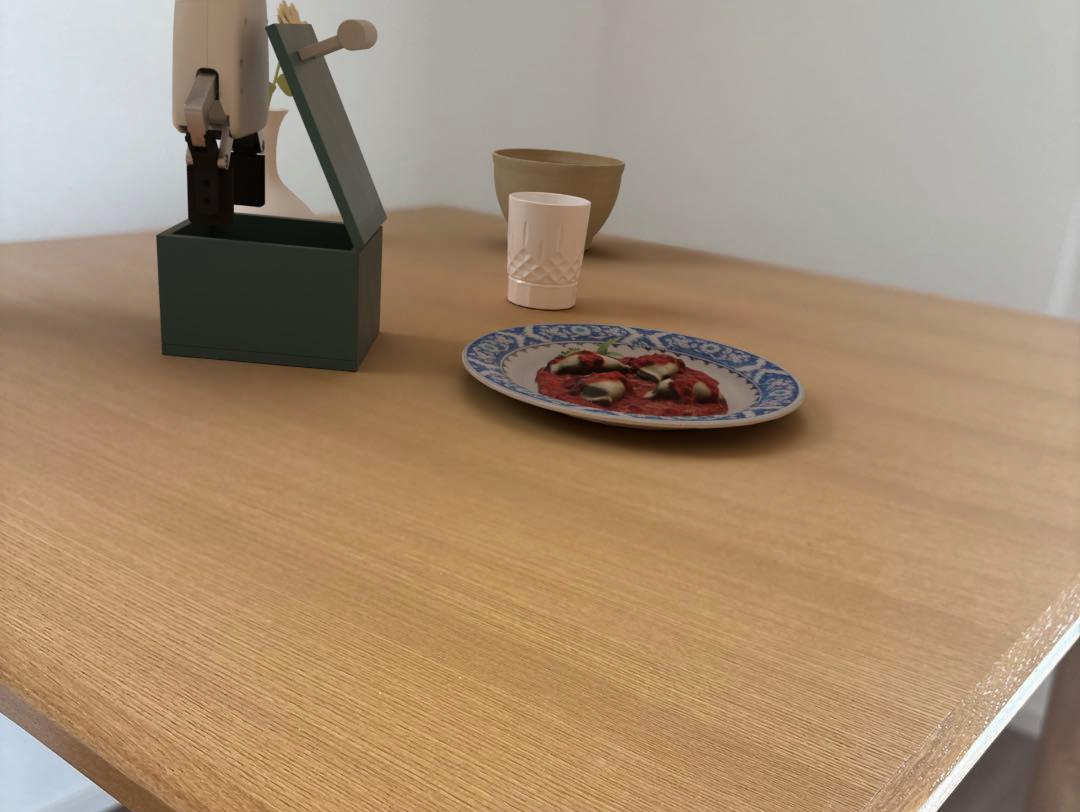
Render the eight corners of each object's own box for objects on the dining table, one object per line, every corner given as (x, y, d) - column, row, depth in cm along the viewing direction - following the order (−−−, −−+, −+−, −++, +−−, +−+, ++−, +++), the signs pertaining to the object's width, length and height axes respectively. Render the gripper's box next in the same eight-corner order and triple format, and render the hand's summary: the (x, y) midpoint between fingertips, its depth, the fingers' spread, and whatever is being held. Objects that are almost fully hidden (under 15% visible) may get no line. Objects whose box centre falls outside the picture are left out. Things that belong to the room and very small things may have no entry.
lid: (264, 27, 75) (344, -5, 74) (301, 27, 87) (371, -1, 86) (354, 249, 81) (429, 222, 80) (378, 221, 93) (444, 197, 92)
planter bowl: (553, 231, 152) (561, 146, 147) (641, 255, 141) (652, 164, 137) (460, 237, 141) (465, 146, 137) (547, 263, 131) (556, 165, 126)
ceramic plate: (857, 460, 77) (866, 418, 76) (481, 449, 72) (484, 404, 71) (736, 355, 100) (742, 322, 99) (445, 342, 95) (447, 306, 94)
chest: (161, 354, 85) (155, 234, 81) (208, 315, 96) (204, 209, 92) (356, 371, 85) (359, 253, 81) (379, 330, 96) (382, 225, 93)
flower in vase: (266, 246, 125) (264, -3, 115) (195, 229, 131) (187, -11, 120) (346, 235, 135) (350, 6, 125) (277, 220, 141) (276, -1, 130)
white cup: (565, 316, 108) (575, 208, 103) (489, 303, 110) (496, 196, 106) (590, 301, 114) (601, 199, 110) (518, 289, 117) (526, 189, 112)
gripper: (205, -35, 87) (210, 194, 94) (129, -49, 71) (142, 227, 78) (302, -24, 87) (300, 203, 94) (248, -36, 72) (250, 238, 79)
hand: (228, 214), depth 86 cm, fingers open, 9 cm apart
